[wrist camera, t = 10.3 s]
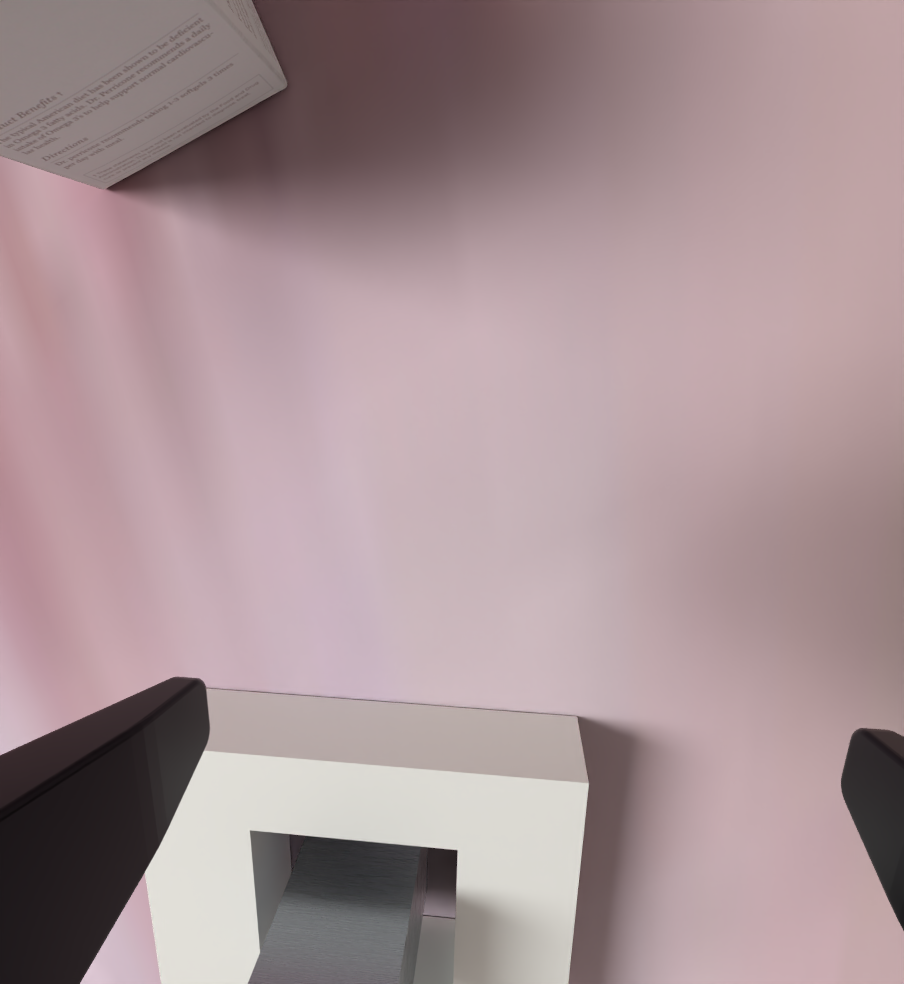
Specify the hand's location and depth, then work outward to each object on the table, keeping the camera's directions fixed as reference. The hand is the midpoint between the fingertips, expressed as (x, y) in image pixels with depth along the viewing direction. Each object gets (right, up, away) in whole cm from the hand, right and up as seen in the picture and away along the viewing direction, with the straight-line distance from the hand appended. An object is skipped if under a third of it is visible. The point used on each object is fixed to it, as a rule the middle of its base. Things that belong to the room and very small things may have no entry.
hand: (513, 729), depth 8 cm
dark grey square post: (-4, -12, +17) cm, 21 cm away
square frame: (-4, -12, +17) cm, 21 cm away
